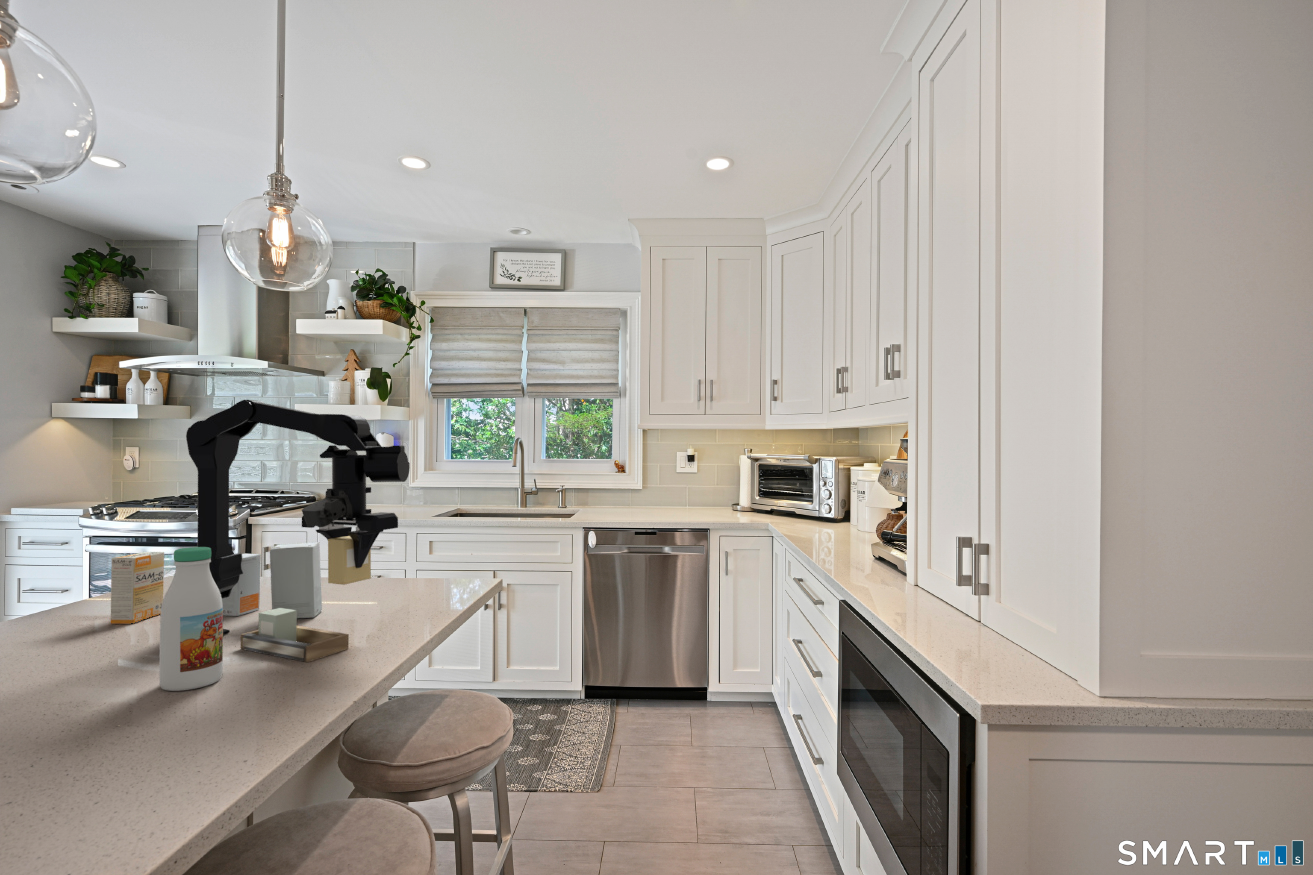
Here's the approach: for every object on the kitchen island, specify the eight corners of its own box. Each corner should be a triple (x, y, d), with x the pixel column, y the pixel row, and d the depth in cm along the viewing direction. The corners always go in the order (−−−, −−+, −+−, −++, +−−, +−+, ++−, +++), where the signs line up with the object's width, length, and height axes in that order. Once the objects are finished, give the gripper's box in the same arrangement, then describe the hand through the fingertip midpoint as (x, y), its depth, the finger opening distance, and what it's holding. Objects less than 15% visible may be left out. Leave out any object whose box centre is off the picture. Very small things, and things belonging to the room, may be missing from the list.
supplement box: (133, 624, 131) (134, 557, 131) (109, 624, 131) (109, 557, 131) (165, 613, 140) (165, 551, 140) (142, 613, 140) (142, 550, 140)
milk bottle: (154, 695, 94) (155, 554, 94) (164, 678, 101) (166, 546, 101) (219, 686, 98) (220, 550, 98) (225, 670, 105) (226, 543, 105)
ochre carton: (328, 582, 122) (327, 539, 122) (355, 576, 127) (354, 534, 127) (344, 584, 120) (344, 540, 120) (371, 578, 125) (370, 535, 126)
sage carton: (258, 647, 117) (258, 612, 117) (279, 640, 121) (279, 607, 121) (274, 650, 115) (275, 615, 115) (296, 644, 119) (296, 610, 119)
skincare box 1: (237, 616, 137) (238, 558, 137) (220, 615, 138) (220, 557, 138) (261, 609, 143) (261, 553, 143) (243, 608, 144) (244, 552, 144)
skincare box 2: (322, 611, 142) (322, 541, 142) (314, 618, 136) (314, 545, 136) (278, 613, 140) (279, 542, 140) (268, 621, 134) (269, 546, 134)
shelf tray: (239, 648, 116) (239, 634, 116) (283, 636, 123) (283, 623, 123) (306, 662, 109) (306, 647, 109) (348, 648, 116) (348, 634, 116)
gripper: (274, 484, 120) (275, 571, 120) (349, 486, 113) (350, 578, 112) (327, 480, 130) (328, 561, 130) (400, 482, 123) (400, 567, 123)
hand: (349, 566), depth 124 cm, fingers closed on ochre carton, 4 cm apart
